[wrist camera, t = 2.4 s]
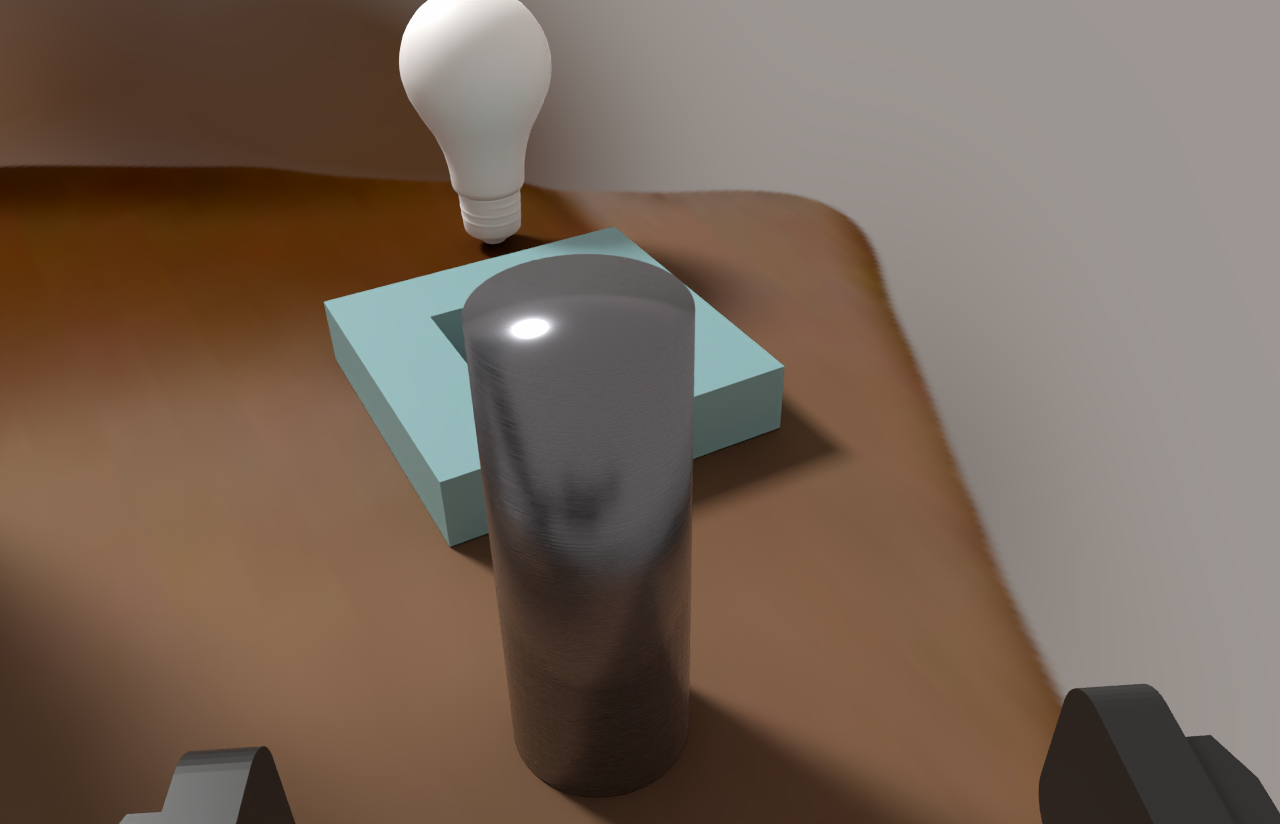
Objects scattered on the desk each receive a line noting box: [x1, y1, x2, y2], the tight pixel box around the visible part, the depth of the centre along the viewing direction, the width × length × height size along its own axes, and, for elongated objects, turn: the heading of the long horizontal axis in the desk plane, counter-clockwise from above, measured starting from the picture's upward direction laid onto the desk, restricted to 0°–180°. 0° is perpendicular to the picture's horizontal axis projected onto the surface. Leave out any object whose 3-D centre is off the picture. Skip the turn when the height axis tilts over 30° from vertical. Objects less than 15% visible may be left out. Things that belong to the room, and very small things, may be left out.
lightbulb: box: [399, 0, 551, 244], centre depth 46 cm, size 6×6×11 cm
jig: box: [324, 227, 784, 547], centre depth 39 cm, size 12×12×2 cm
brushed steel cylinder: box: [462, 254, 695, 797], centre depth 24 cm, size 4×4×12 cm
